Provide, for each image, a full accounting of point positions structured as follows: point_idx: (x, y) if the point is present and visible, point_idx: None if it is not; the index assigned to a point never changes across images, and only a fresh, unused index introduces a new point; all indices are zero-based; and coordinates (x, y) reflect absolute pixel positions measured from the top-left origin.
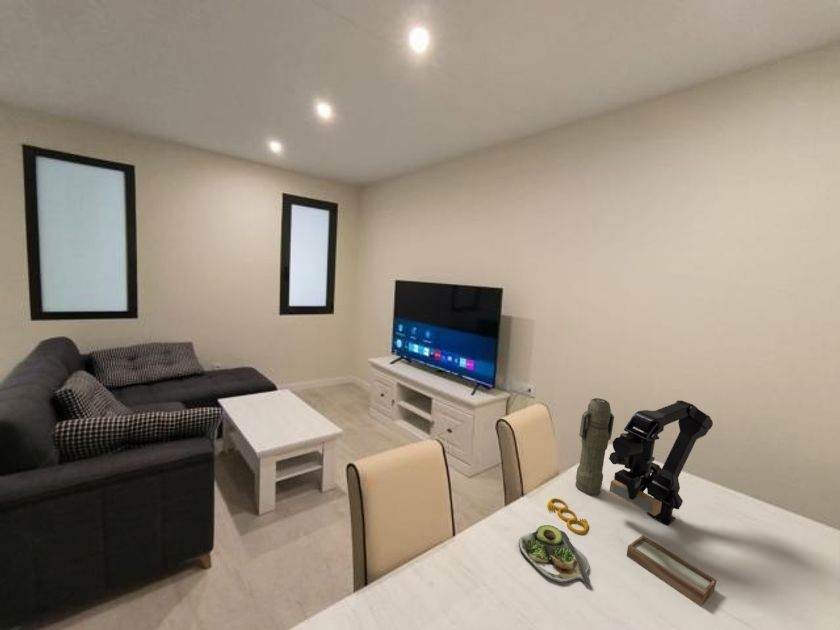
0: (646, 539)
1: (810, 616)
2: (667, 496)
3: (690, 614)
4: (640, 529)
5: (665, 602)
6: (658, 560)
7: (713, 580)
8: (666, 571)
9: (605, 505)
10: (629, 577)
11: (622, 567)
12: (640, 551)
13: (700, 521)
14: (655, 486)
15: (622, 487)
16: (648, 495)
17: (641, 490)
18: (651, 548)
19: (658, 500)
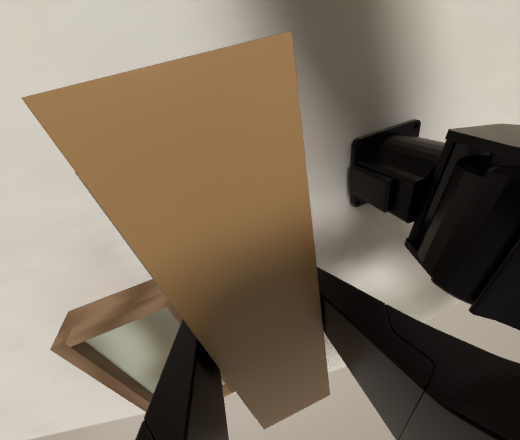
0: (172, 314)
1: (327, 368)
2: (441, 288)
3: (125, 409)
4: None
5: (83, 404)
6: (149, 356)
7: (231, 391)
8: (127, 398)
9: (211, 4)
10: (16, 372)
11: (12, 349)
12: (91, 362)
13: None
14: (498, 239)
15: (166, 293)
16: (320, 363)
17: (330, 334)
18: (168, 323)
19: (327, 388)
